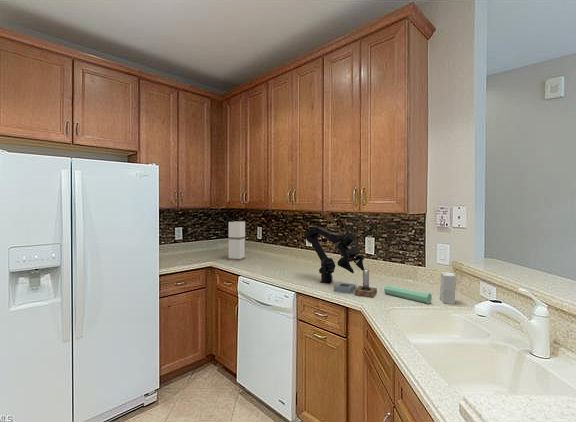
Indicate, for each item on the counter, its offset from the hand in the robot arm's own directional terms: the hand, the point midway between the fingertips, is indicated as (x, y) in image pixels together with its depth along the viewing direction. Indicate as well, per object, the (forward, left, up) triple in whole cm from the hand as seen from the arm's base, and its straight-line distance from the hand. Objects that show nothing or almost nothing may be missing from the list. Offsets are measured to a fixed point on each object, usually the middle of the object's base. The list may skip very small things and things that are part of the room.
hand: (358, 272), depth 174 cm
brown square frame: (+5, -2, -12) cm, 13 cm away
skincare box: (+46, +6, -12) cm, 48 cm away
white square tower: (-125, +48, -12) cm, 135 cm away
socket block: (-8, 0, -12) cm, 14 cm away
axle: (+5, -2, -12) cm, 13 cm away
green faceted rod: (+26, +2, -12) cm, 28 cm away
